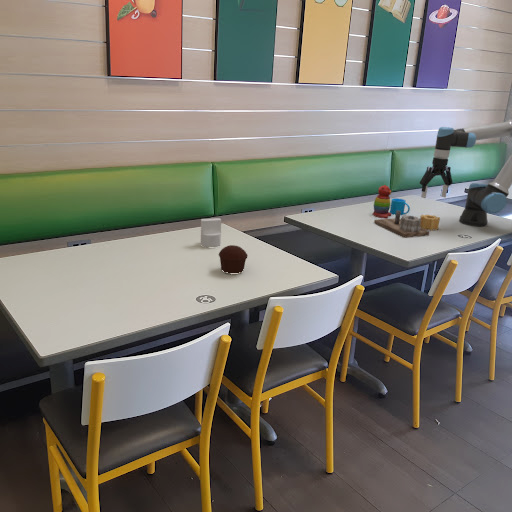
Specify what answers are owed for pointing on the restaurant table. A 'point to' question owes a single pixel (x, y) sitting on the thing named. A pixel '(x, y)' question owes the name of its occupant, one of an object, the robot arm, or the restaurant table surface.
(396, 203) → the mug
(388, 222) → the gear board
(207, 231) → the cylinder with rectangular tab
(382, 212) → the stacking bear
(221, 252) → the muffin
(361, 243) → the restaurant table surface
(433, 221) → the ochre gear
